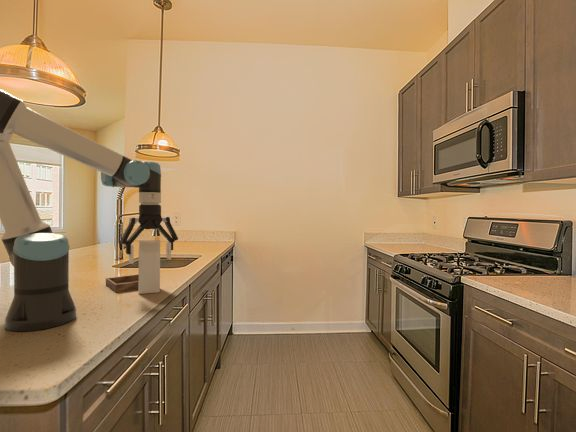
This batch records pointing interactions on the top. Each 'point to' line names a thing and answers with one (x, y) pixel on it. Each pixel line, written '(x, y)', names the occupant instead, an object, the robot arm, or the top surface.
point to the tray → (123, 283)
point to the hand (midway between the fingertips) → (150, 261)
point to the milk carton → (149, 267)
